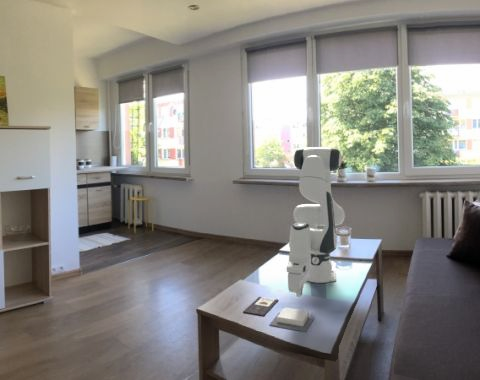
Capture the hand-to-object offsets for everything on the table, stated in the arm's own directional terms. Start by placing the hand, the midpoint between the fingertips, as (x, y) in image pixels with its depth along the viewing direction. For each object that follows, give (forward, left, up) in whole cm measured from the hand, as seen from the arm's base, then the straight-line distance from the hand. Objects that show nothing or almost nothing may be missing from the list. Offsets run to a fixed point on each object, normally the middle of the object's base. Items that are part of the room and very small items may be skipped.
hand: (299, 295), depth 157 cm
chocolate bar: (+2, -16, -7) cm, 18 cm away
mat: (+12, 0, -7) cm, 13 cm away
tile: (+5, 0, -5) cm, 7 cm away
